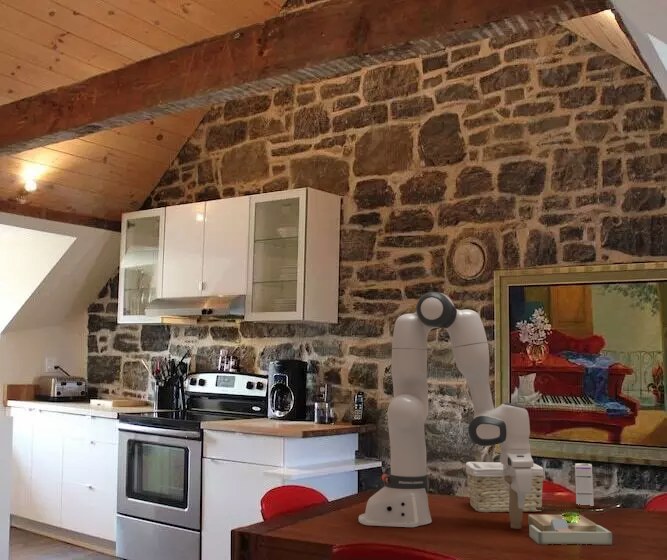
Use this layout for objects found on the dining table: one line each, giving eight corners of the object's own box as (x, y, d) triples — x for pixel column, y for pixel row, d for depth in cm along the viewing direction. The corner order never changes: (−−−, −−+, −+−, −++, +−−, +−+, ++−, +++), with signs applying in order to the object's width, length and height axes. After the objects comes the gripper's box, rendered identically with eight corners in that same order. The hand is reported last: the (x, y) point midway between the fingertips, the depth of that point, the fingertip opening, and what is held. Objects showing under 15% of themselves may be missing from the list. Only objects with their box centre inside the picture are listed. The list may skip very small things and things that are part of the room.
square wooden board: (543, 536, 225) (543, 525, 226) (528, 524, 241) (528, 514, 242) (599, 536, 226) (599, 525, 226) (580, 524, 242) (580, 514, 242)
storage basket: (473, 513, 259) (473, 467, 261) (464, 504, 275) (464, 460, 277) (546, 513, 260) (545, 467, 261) (533, 504, 276) (532, 461, 277)
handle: (527, 530, 233) (526, 478, 235) (504, 529, 234) (504, 477, 236) (527, 527, 238) (526, 475, 239) (505, 525, 239) (504, 475, 241)
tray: (539, 544, 215) (538, 532, 216) (529, 536, 225) (529, 524, 225) (612, 544, 216) (611, 532, 216) (599, 536, 225) (599, 525, 226)
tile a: (555, 528, 221) (555, 538, 221) (560, 532, 217) (560, 541, 217) (569, 528, 221) (569, 538, 221) (574, 532, 217) (574, 541, 217)
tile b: (553, 536, 223) (555, 531, 221) (550, 524, 226) (551, 519, 224) (567, 536, 223) (569, 531, 221) (564, 524, 226) (565, 519, 224)
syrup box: (594, 509, 267) (593, 465, 268) (575, 508, 269) (574, 464, 270) (593, 506, 272) (592, 463, 274) (575, 505, 274) (574, 462, 276)
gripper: (497, 453, 248) (498, 499, 247) (513, 462, 228) (514, 511, 227) (517, 453, 249) (518, 499, 247) (535, 462, 228) (536, 511, 227)
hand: (516, 505), depth 237 cm, fingers open, 8 cm apart
